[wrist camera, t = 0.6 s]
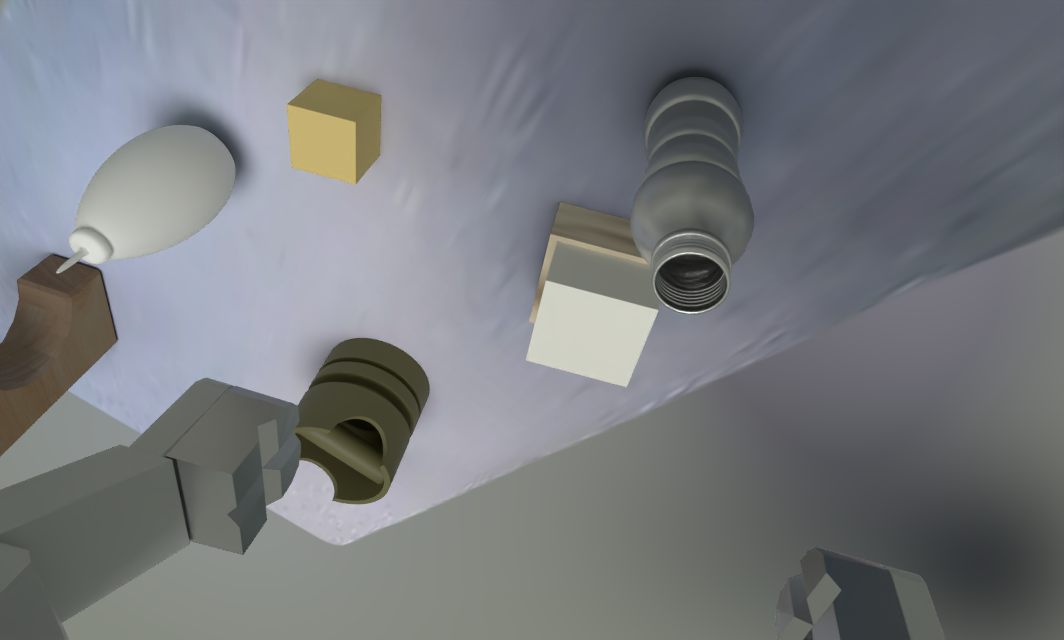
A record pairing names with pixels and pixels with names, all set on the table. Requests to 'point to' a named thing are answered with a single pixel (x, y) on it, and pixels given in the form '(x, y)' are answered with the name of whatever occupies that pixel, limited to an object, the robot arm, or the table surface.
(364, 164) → the mustard cube
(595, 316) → the painted tower top
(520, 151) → the table surface
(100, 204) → the air blower bulb
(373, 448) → the piston
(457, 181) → the table surface
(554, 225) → the birch tower base
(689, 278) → the plastic bottle
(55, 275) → the decorative block
